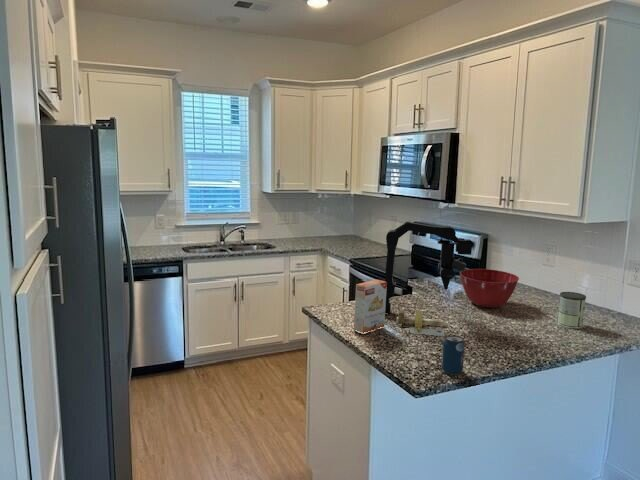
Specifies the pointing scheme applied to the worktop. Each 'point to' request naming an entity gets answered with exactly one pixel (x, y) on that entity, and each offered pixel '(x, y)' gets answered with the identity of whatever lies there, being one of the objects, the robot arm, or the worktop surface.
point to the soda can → (453, 355)
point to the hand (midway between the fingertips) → (445, 286)
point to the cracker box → (370, 305)
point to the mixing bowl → (488, 286)
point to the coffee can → (571, 310)
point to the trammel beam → (402, 320)
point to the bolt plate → (427, 331)
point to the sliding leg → (418, 319)
